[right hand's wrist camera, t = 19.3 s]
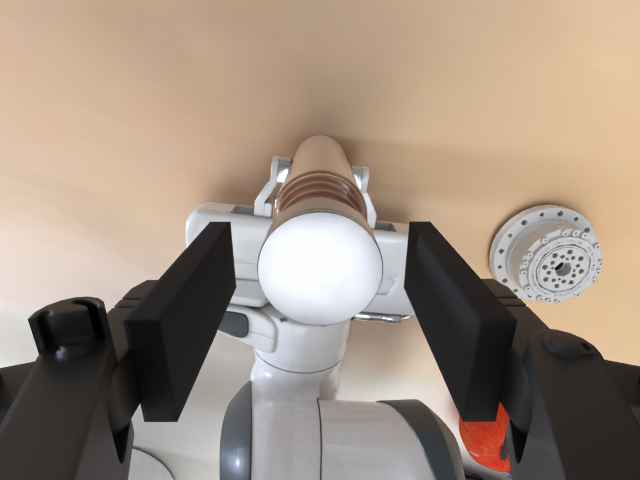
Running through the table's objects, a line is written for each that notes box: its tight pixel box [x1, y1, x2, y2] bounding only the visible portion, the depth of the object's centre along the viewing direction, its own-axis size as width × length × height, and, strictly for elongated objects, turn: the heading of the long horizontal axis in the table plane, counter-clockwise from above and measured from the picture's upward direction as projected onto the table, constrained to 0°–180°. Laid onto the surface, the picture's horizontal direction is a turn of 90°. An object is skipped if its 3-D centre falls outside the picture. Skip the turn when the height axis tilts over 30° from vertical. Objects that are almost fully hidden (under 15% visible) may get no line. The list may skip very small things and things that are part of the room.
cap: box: [257, 199, 383, 326], centre depth 14 cm, size 4×4×2 cm
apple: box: [459, 402, 511, 472], centre depth 42 cm, size 8×8×8 cm
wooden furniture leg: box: [273, 135, 368, 222], centre depth 24 cm, size 5×5×24 cm
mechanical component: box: [489, 204, 604, 304], centre depth 36 cm, size 10×4×10 cm
